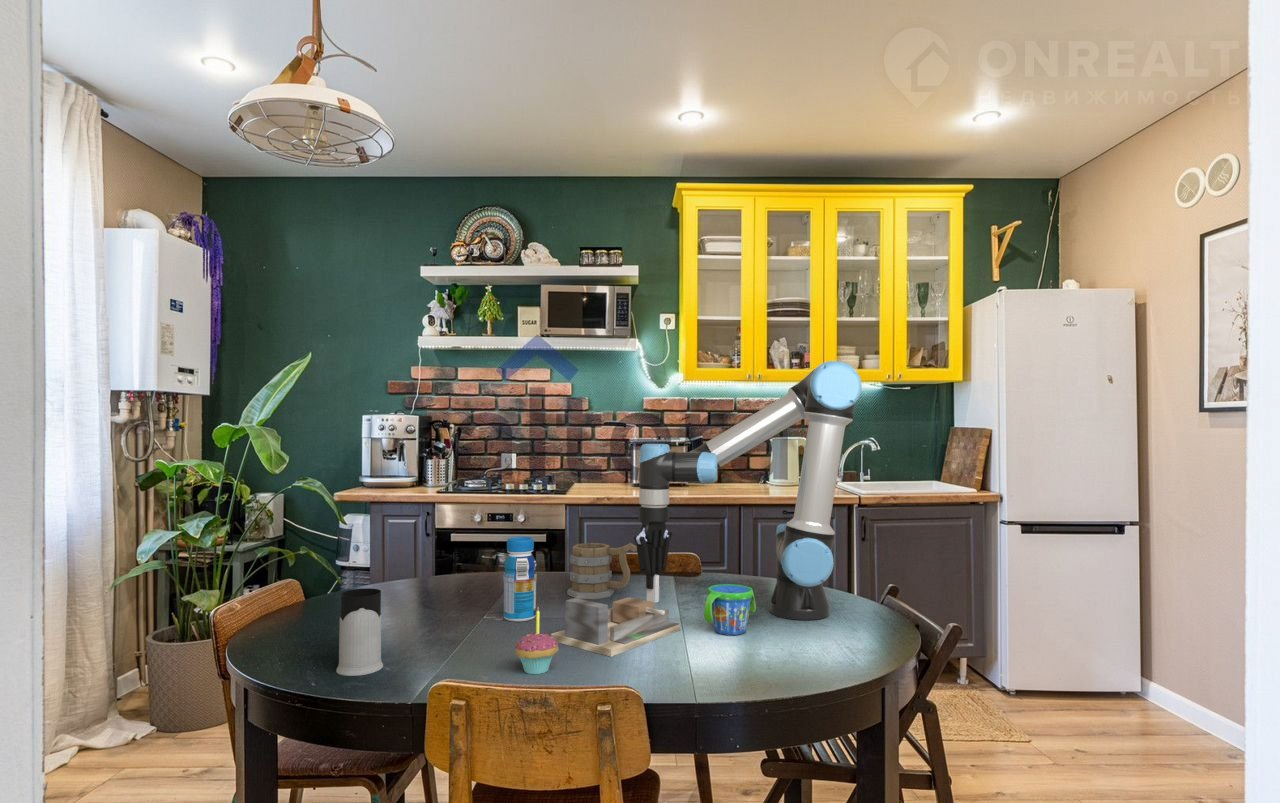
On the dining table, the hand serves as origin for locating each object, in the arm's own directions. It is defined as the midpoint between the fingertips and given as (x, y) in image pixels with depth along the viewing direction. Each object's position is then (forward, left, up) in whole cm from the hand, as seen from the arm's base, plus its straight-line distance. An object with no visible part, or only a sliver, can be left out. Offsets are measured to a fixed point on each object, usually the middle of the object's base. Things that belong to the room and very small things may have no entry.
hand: (652, 601), depth 175 cm
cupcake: (-3, +42, -5) cm, 42 cm away
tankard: (+29, -14, -5) cm, 33 cm away
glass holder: (+28, +62, -5) cm, 68 cm away
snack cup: (-19, -5, -5) cm, 21 cm away
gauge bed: (0, +14, -5) cm, 15 cm away
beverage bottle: (+29, +18, -5) cm, 34 cm away
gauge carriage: (-3, +8, -3) cm, 9 cm away
